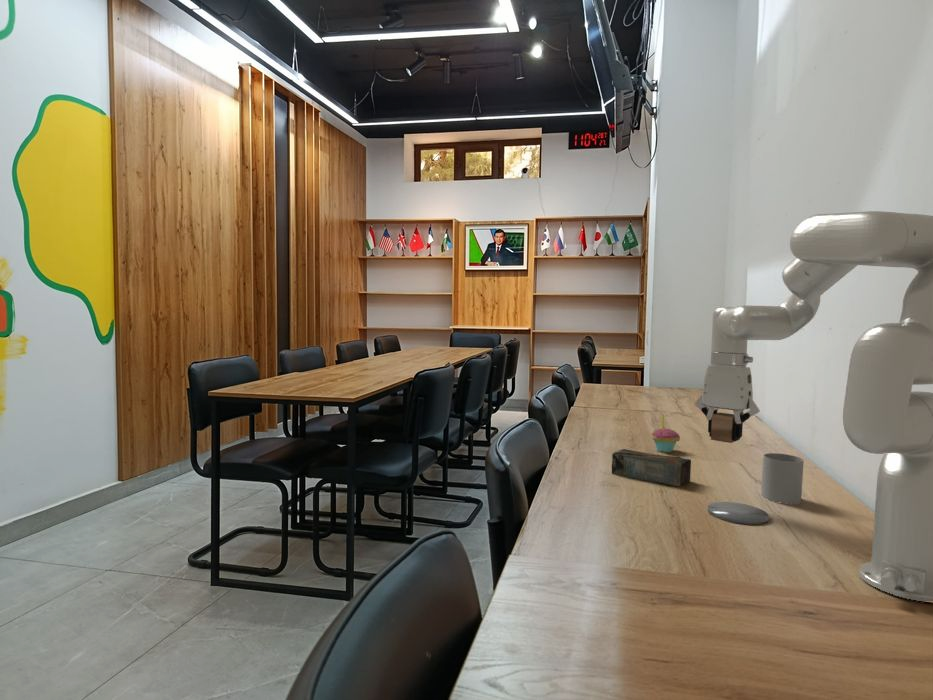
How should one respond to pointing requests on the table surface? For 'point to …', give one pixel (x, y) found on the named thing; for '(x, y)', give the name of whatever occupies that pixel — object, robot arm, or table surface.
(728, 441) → the block
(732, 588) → the table surface
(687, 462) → the dark grey rectangular box
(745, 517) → the coaster
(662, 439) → the cupcake
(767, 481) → the cup
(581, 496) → the table surface
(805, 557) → the table surface
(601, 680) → the table surface
